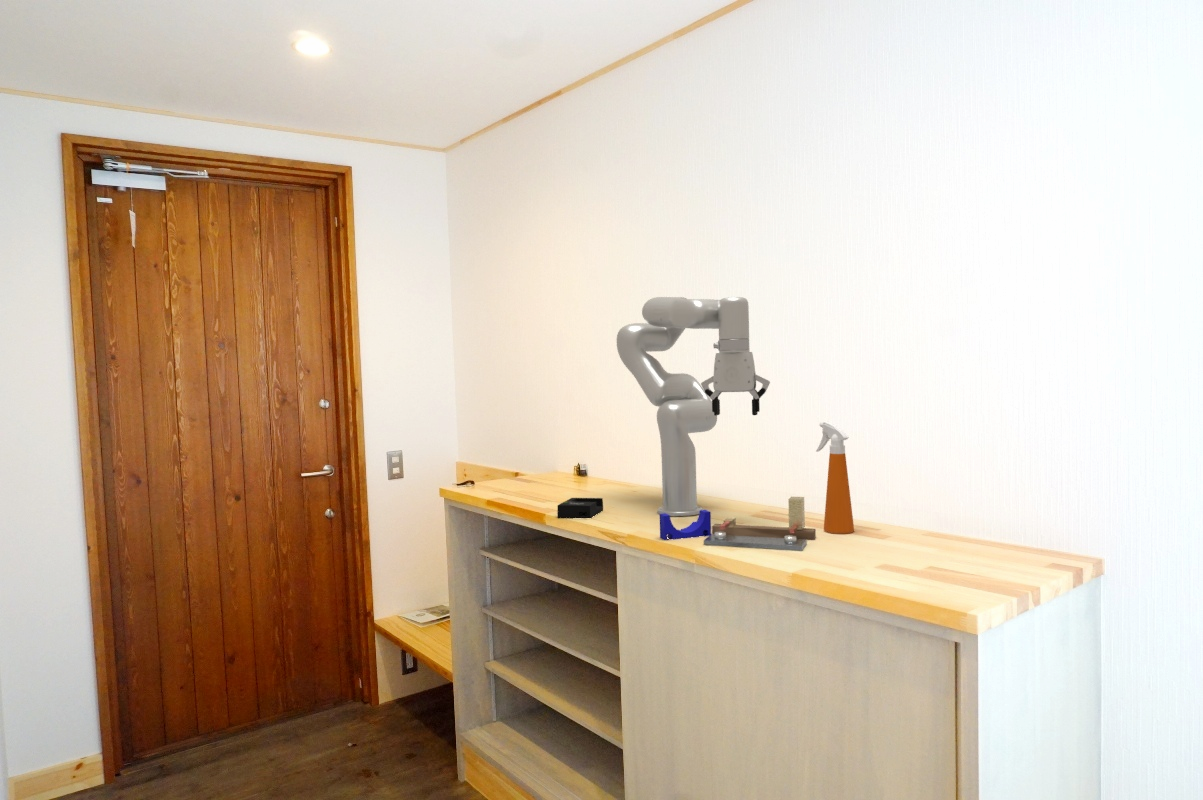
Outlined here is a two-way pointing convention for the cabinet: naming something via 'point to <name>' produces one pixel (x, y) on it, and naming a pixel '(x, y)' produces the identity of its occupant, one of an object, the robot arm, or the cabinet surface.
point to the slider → (796, 514)
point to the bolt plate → (756, 541)
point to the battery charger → (580, 508)
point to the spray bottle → (837, 483)
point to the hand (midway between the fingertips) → (735, 415)
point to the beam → (761, 530)
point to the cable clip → (693, 530)
